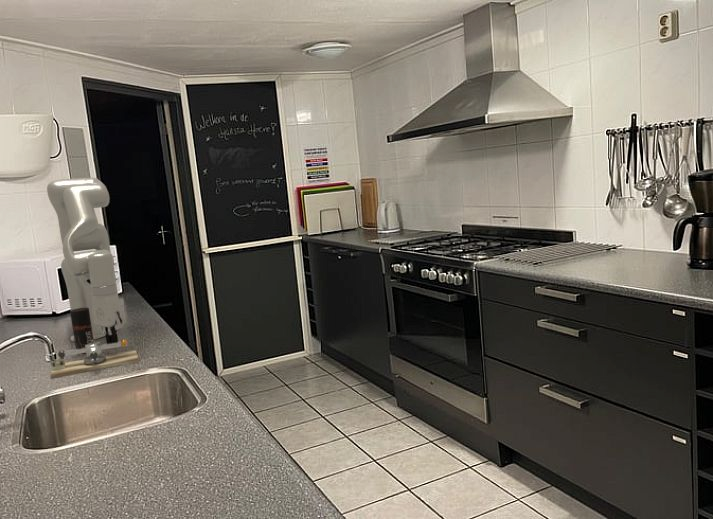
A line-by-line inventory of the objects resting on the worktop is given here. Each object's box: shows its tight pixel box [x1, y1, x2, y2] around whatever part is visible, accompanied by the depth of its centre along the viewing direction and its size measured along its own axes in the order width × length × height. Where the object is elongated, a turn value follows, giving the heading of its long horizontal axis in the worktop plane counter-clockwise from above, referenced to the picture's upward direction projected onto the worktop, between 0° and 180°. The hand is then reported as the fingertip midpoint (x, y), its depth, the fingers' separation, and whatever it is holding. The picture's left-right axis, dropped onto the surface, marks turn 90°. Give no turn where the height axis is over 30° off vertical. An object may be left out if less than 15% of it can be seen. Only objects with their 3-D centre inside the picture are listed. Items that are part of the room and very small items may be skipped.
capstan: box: [57, 339, 128, 364], centre depth 189 cm, size 20×20×5 cm
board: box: [50, 349, 140, 379], centre depth 189 cm, size 11×25×4 cm, turn 114°
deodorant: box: [69, 308, 93, 355], centre depth 206 cm, size 6×6×15 cm
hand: (112, 345), depth 195 cm, fingers closed
